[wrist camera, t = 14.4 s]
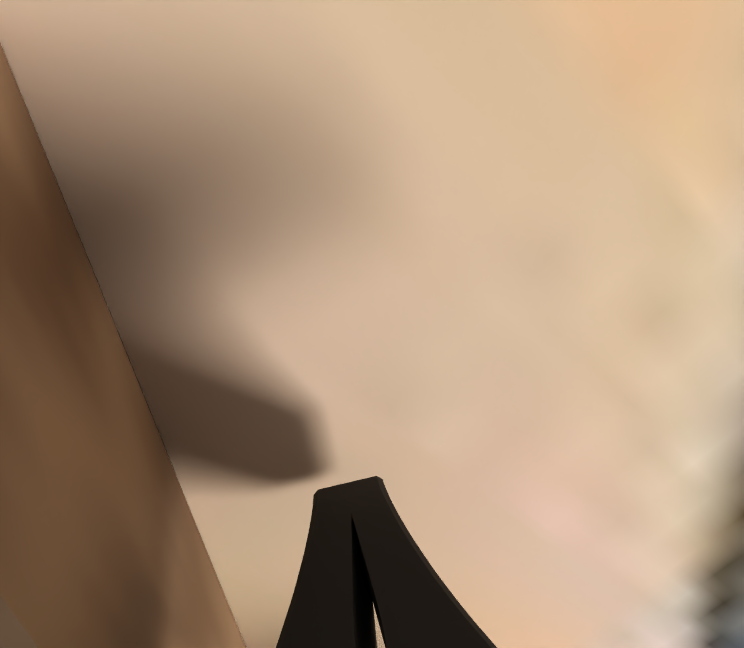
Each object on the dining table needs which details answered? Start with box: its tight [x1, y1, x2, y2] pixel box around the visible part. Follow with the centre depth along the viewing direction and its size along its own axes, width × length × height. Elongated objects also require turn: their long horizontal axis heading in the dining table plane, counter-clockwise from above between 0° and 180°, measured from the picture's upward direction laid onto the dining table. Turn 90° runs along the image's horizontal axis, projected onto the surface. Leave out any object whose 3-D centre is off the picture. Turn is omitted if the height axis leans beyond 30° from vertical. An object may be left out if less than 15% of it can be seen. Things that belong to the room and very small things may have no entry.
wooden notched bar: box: [0, 44, 246, 648], centre depth 9 cm, size 19×5×5 cm, turn 7°
